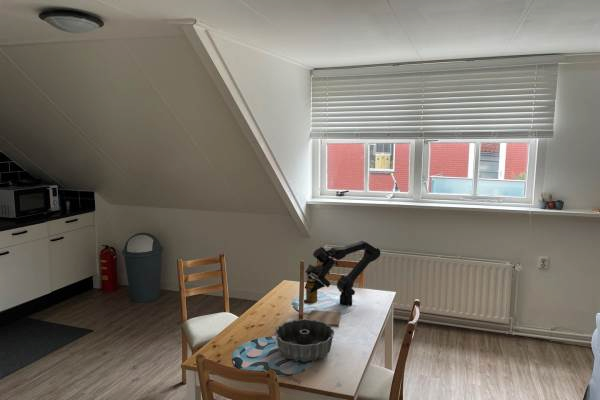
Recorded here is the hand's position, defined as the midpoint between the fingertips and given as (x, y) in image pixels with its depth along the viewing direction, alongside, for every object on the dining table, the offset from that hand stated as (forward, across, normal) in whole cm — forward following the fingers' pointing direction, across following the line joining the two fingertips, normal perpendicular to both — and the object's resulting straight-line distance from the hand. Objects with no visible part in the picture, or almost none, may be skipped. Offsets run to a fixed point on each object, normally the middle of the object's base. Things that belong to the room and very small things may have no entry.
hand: (308, 290), depth 238 cm
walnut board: (+7, +12, +11) cm, 18 cm away
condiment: (+4, 0, +6) cm, 7 cm away
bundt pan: (+25, +38, -7) cm, 46 cm away
